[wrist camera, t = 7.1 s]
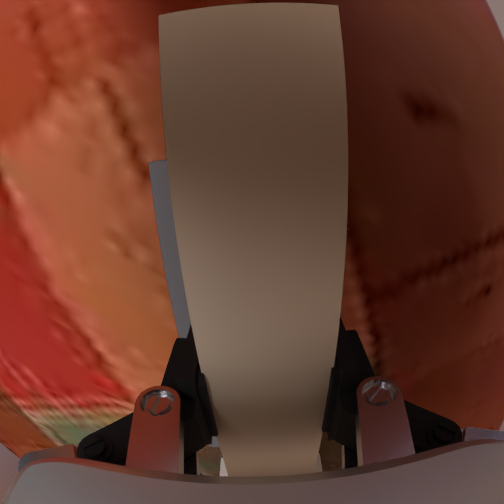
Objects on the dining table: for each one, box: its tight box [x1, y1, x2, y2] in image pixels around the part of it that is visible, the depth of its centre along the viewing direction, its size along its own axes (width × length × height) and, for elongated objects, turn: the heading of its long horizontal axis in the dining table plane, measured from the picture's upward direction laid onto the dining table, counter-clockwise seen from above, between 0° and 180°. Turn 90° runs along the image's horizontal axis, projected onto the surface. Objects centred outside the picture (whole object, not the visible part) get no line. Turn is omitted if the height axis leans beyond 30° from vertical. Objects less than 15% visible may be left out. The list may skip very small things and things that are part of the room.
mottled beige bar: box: [159, 3, 348, 477], centre depth 11 cm, size 20×4×5 cm, turn 3°
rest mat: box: [149, 160, 220, 447], centre depth 18 cm, size 22×8×1 cm, turn 3°
